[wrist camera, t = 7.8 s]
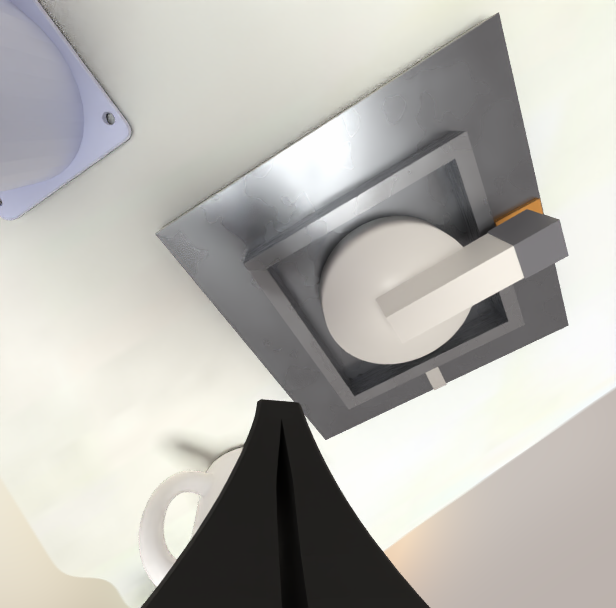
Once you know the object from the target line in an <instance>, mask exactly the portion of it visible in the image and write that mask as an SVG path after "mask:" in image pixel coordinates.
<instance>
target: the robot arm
mask: <svg viewBox="0 0 616 608" xmlns="http://www.w3.org/2000/svg"><path fill="white" fill-rule="evenodd" d="M109 112H110V113H111V114H113V116H114V118H115V122H114V124H113V125H111V124H109V123H108V122H107V119H106V115H107V113H109ZM131 133H132V132H131V127H130V125H129V123H128V122H127V121H126V119H125V118H124V117H123V115H122V114H121V113H120V111H119V110H118V109H117V107H116V106H115V104H114V103H113V102H112V100H111V99H110V98H109V96H108V95H107V94H106V92H105V91H104V90H103V88H102V87H101V86H100V84H99V83H98V82H97V80H96V79H95V77H94V76H93V75H92V73H91V72H90V71H89V69H88V68H87V67H86V65H85V64H84V63H83V61H82V60H81V59H80V57H79V56H78V55H77V53H76V52H75V50H74V49H73V48H72V46H71V45H70V44H69V42H68V41H67V40H66V38H65V37H64V36H63V34H62V33H61V32H60V30H59V29H58V28H57V26H56V25H55V23H54V22H53V21H52V19H51V18H50V17H49V15H48V14H47V13H46V11H45V10H44V9H43V7H42V6H41V5H40V3H39V2H38V1H37V0H0V199H1V200H2V205H1V204H0V217H1V218H3V219H6V220H14V219H16V218H19V217H20V216H22V215H23V214H25V213H26V212H27V211H29V210H30V209H32V208H33V207H34V206H36V205H37V204H39V203H40V202H41V201H43V200H44V199H46V198H47V197H48V196H50V195H51V194H53V193H54V192H55V191H57V190H58V189H60V188H61V187H62V186H64V185H65V184H67V183H68V182H69V181H71V180H72V179H74V178H75V177H76V176H78V175H79V174H81V173H82V172H83V171H85V170H86V169H88V168H89V167H90V166H92V165H93V164H95V163H96V162H97V161H99V160H100V159H102V158H103V157H104V156H106V155H107V154H109V153H110V152H111V151H113V150H114V149H116V148H117V147H118V146H120V145H121V144H123V143H124V142H125V141H127V140H128V139H129V138H130V137H131ZM141 608H430V607H429V606H428V605H427V604H426V603H425V602H424V600H423V599H422V598H421V597H420V596H419V595H418V594H417V593H416V591H415V590H414V589H413V588H412V587H411V586H410V585H409V583H408V582H407V581H406V580H405V579H404V577H403V576H402V575H401V574H400V573H399V571H398V570H397V569H396V568H395V566H394V565H393V564H392V563H391V561H390V560H389V559H388V557H387V556H386V555H385V554H384V552H383V551H382V550H381V548H380V547H379V546H378V545H377V543H376V542H375V541H374V539H373V538H372V537H371V535H370V534H369V533H368V531H367V530H366V528H365V527H364V525H363V524H362V523H361V521H360V520H359V518H358V517H357V515H356V514H355V512H354V511H353V509H352V508H351V506H350V505H349V503H348V501H347V500H346V498H345V497H344V495H343V493H342V492H341V490H340V488H339V486H338V485H337V483H336V481H335V479H334V478H333V476H332V474H331V472H330V470H329V468H328V467H327V465H326V463H325V461H324V459H323V457H322V455H321V453H320V451H319V448H318V446H317V444H316V442H315V440H314V438H313V435H312V433H311V431H310V428H309V426H308V423H307V421H306V418H305V416H304V413H303V410H302V407H301V405H300V404H299V402H287V401H275V400H263V399H261V400H259V401H258V402H257V407H256V413H255V417H254V421H253V424H252V427H251V429H250V432H249V435H248V437H247V440H246V442H245V444H244V447H243V449H242V452H241V454H240V456H239V458H238V460H237V462H236V464H235V466H234V468H233V470H232V472H231V474H230V476H229V478H228V480H227V482H226V483H225V485H224V487H223V489H222V491H221V492H220V494H219V496H218V498H217V499H216V501H215V503H214V504H213V506H212V508H211V509H210V511H209V513H208V514H207V516H206V517H205V519H204V521H203V522H202V524H201V525H200V527H199V528H198V530H197V531H196V533H195V535H194V536H193V537H192V539H191V540H190V542H189V543H188V545H187V546H186V548H185V549H184V551H183V552H182V553H181V555H180V556H179V558H178V559H177V560H176V562H175V563H174V564H173V566H172V567H171V569H170V570H169V571H168V573H167V574H166V575H165V577H164V578H163V580H162V581H161V582H160V584H159V585H158V586H157V588H156V589H155V590H154V592H153V593H152V594H151V595H150V597H149V598H148V599H147V600H146V602H145V603H144V604H143V605H142V607H141Z"/></svg>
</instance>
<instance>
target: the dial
mask: <svg viewBox="0 0 616 608" xmlns="http://www.w3.org/2000/svg"><path fill="white" fill-rule="evenodd" d="M567 256H568V252H567V248H566V244H565V240H564V236H563V232H562V228H561V224H560V220H559V219H556V218H553V217H550V216H547V215H544V214H540V213H537V212H534V211H531V210H528V209H526V210H524V211H522V212H521V213H519V214H517V215H515V216H514V217H512V218H510V219H509V220H507V221H505V222H503V223H502V224H500V225H498V226H496V227H495V228H493V229H491V230H490V231H488V232H487V234H485V235H484V236H482V237H480V238H479V239H477V240H475V241H473V242H472V243H470V244H468V245H466V246H465V247H463V246H462V245H461V244H460V243H459V242H457V241H456V240H455V239H454V238H452V237H451V236H449V235H448V234H446V233H445V232H443V231H442V230H440V229H438V228H437V227H435V226H434V225H432V224H430V223H428V222H426V221H424V220H421V219H418V218H415V217H409V216H389V217H383V218H379V219H375V220H372V221H370V222H367V223H365V224H363V225H361V226H359V227H357V228H356V229H354V230H353V231H352V232H350V233H349V234H347V235H346V236H345V237H344V238H343V239H342V240H341V241H340V242H339V243H338V244H337V245H336V247H335V248H334V249H333V250H332V252H331V253H330V255H329V257H328V258H327V261H326V263H325V265H324V267H323V270H322V273H321V278H320V285H319V294H320V301H321V305H322V309H323V313H324V317H325V321H326V324H327V327H328V329H329V332H330V334H331V335H332V337H333V339H334V340H335V341H336V342H337V344H338V345H339V346H340V347H341V348H342V349H344V350H345V351H346V352H348V353H349V354H351V355H352V356H354V357H356V358H358V359H361V360H364V361H367V362H371V363H376V364H397V363H404V362H408V361H412V360H415V359H418V358H420V357H423V356H425V355H427V354H429V353H431V352H432V351H434V350H436V349H437V348H439V347H440V346H442V345H443V344H444V343H446V342H447V341H448V340H449V339H450V338H451V337H452V336H453V335H454V334H455V333H456V332H457V331H458V329H459V328H460V327H461V325H462V324H463V323H464V321H465V319H466V317H467V316H468V314H469V312H470V309H471V307H472V306H473V305H475V304H477V303H479V302H480V301H482V300H484V299H486V298H488V297H490V296H491V295H493V294H495V293H497V292H499V291H501V290H503V289H504V288H506V287H508V286H510V285H512V284H514V283H515V282H517V281H519V280H521V279H523V278H524V279H526V278H528V277H530V276H532V275H534V274H535V273H537V272H539V271H541V270H543V269H545V268H547V267H548V266H550V265H552V264H554V263H556V262H558V261H559V260H561V259H563V258H565V257H567Z"/></svg>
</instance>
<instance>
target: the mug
mask: <svg viewBox="0 0 616 608" xmlns="http://www.w3.org/2000/svg"><path fill="white" fill-rule="evenodd" d="M242 449H243V447H242V448H238V449H235V450H232V451H230V452H228V453H226V454H224V455H222V456H221V457H219V458H218V459H217V460H216V461H214V462H213V464H212V465H211V466H210V467H209V469H208V470H207V472H206V473H205V472H201V471H191V470H189V471H182V472H179V473H176V474H174V475H172V476H170V477H168V478H167V479H165V480H164V481H163V482H162V483H161V484H160V485H159V486H158V487H157V488H156V489H155V490H154V492H153V493H152V495H151V497H150V498H149V500H148V502H147V504H146V507H145V509H144V511H143V515H142V518H141V522H140V528H139V550H140V557H141V560H142V563H143V566H144V569H145V571H146V573H147V575H148V576H149V578H150V579H151V581H152V582H153V583H154V585H155V586H156V587H157V586H158V585H159V584H160V582H161V581H162V580H163V578H164V577H165V575H166V574H167V573H168V571H169V570H170V569H171V567H172V566H173V564H174V563H175V562H176V560H177V559H175V558H174V557H173V555H172V554H171V553H170V551H169V550H168V548H167V545H166V543H165V539H164V519H165V514H166V511H167V508H168V506H169V504H170V503H171V501H172V500H173V499H174V498H175V497H176V496H177V495H178V494H180V493H183V492H192V493H196V494H198V495H200V497H199V501H198V507H197V512H196V517H195V522H194V526H193V531H192V536H191V539H192V537H193V536H194V535H195V533H196V531H197V530H198V528H199V527H200V525H201V524H202V522H203V521H204V519H205V517H206V516H207V514H208V513H209V511H210V509H211V508H212V506H213V504H214V503H215V501H216V499H217V498H218V496H219V494H220V492H221V491H222V489H223V487H224V485H225V483H226V482H227V480H228V478H229V476H230V474H231V472H232V470H233V468H234V466H235V464H236V462H237V460H238V458H239V456H240V454H241V452H242Z"/></svg>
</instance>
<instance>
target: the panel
mask: <svg viewBox="0 0 616 608" xmlns="http://www.w3.org/2000/svg"><path fill="white" fill-rule="evenodd" d="M526 209H528V210H531V211H534V212H537V213H540V214H544V213H543V208H542V204H541V200H540V195H539V191H538V186H537V182H536V177H535V173H534V168H533V164H532V159H531V155H530V150H529V146H528V141H527V137H526V132H525V128H524V123H523V119H522V114H521V110H520V105H519V101H518V96H517V92H516V87H515V83H514V78H513V74H512V69H511V65H510V60H509V56H508V51H507V47H506V42H505V38H504V33H503V29H502V24H501V20H500V15H499V13H497V14H495V15H493V16H491V17H489V18H487V19H485V20H483V21H481V22H480V23H478V24H477V25H475V26H474V27H472V28H471V29H469V30H467V31H466V32H464V33H463V34H461V35H460V36H458V37H457V38H455V39H453V40H452V41H450V42H449V43H447V44H446V45H444V46H443V47H441V48H440V49H438V50H436V51H435V52H433V53H432V54H430V55H429V56H427V57H426V58H424V59H423V60H421V61H419V62H418V63H416V64H415V65H413V66H412V67H410V68H409V69H407V70H405V71H404V72H402V73H401V74H399V75H398V76H396V77H395V78H393V79H392V80H390V81H388V82H387V83H385V84H384V85H382V86H381V87H379V88H378V89H376V90H375V91H373V92H371V93H370V94H368V95H367V96H365V97H364V98H362V99H361V100H359V101H358V102H356V103H354V104H353V105H351V106H350V107H348V108H347V109H345V110H344V111H342V112H340V113H339V114H337V115H336V116H334V117H333V118H331V119H330V120H328V121H327V122H325V123H323V124H322V125H320V126H319V127H317V128H316V129H314V130H313V131H311V132H310V133H308V134H306V135H305V136H303V137H302V138H300V139H299V140H297V141H296V142H294V143H292V144H291V145H289V146H288V147H286V148H285V149H283V150H282V151H280V152H279V153H277V154H275V155H274V156H272V157H271V158H269V159H268V160H266V161H265V162H263V163H262V164H260V165H258V166H257V167H255V168H254V169H252V170H251V171H249V172H248V173H246V174H245V175H243V176H241V177H240V178H238V179H237V180H235V181H234V182H232V183H231V184H229V185H227V186H226V187H224V188H223V189H221V190H220V191H218V192H217V193H215V194H214V195H212V196H210V197H209V198H207V199H206V200H204V201H203V202H201V203H200V204H198V205H197V206H195V207H193V208H192V209H190V210H189V211H187V212H186V213H184V214H183V215H181V216H179V217H178V218H176V219H175V220H173V221H172V222H170V223H169V224H167V225H166V226H164V227H162V228H161V229H160V230H159V231H158V232H157V233H156V235H157V236H158V237H159V239H160V240H161V241H162V242H163V243H164V245H165V246H166V247H167V248H168V249H169V251H170V252H171V253H172V254H173V256H174V257H175V258H176V259H177V260H178V262H179V263H180V264H181V265H182V266H183V268H184V269H185V270H186V271H187V273H188V274H189V275H190V276H191V277H192V279H193V280H194V281H195V282H196V283H197V285H198V286H199V287H200V288H201V289H202V291H203V292H204V293H205V294H206V296H207V297H208V298H209V299H210V300H211V302H212V303H213V304H214V305H215V306H216V308H217V309H218V310H219V311H220V313H221V314H222V315H223V316H224V317H225V319H226V320H227V321H228V322H229V323H230V325H231V326H232V327H233V328H234V329H235V331H236V332H237V333H238V334H239V336H240V337H241V338H242V339H243V340H244V342H245V343H246V344H247V345H248V346H249V348H250V349H251V350H252V351H253V353H254V354H255V355H256V356H257V357H258V359H259V360H260V361H261V362H262V363H263V365H264V366H265V367H266V368H267V369H268V371H269V372H270V373H271V374H272V376H273V377H274V378H275V379H276V380H277V382H278V383H279V384H280V385H281V386H282V388H283V389H284V390H285V391H286V393H287V394H288V395H289V396H290V397H291V399H292V400H293V401H294V402H299V404H300V405H301V407H302V410H303V413H304V414H305V416H306V417H307V418H308V419H309V420H310V422H311V423H312V424H313V425H314V426H315V428H316V429H317V430H318V431H319V433H320V434H321V435H322V436H323V437H324V439H325V440H327V439H329V438H331V437H333V436H335V435H337V434H339V433H342V432H344V431H346V430H348V429H350V428H352V427H354V426H356V425H359V424H361V423H363V422H365V421H367V420H369V419H371V418H373V417H375V416H378V415H380V414H382V413H384V412H386V411H388V410H390V409H392V408H395V407H397V406H399V405H401V404H403V403H405V402H407V401H409V400H412V399H414V398H416V397H418V396H420V395H422V394H424V393H426V392H428V391H431V390H433V389H434V390H436V389H438V388H440V387H442V386H444V385H447V384H446V383H448V382H450V381H452V380H454V379H456V378H458V377H460V376H462V375H464V374H467V373H469V372H471V371H473V370H475V369H477V368H479V367H481V366H484V365H486V364H488V363H490V362H492V361H494V360H496V359H498V358H501V357H503V356H505V355H507V354H509V353H511V352H513V351H515V350H517V349H520V348H522V347H524V346H526V345H528V344H530V343H532V342H534V341H537V340H539V339H541V338H543V337H545V336H547V335H549V334H551V333H553V332H556V331H558V330H560V329H562V328H564V327H566V326H568V321H567V316H566V312H565V307H564V303H563V298H562V294H561V289H560V285H559V280H558V276H557V271H556V267H555V263H554V264H552V265H550V266H548V267H547V268H545V269H543V270H541V271H539V272H537V273H535V274H534V275H532V276H530V277H528V278H526V279H524V278H523V279H521V280H519V281H517V282H515V283H514V284H512V285H510V286H508V287H506V288H504V289H503V290H501V291H499V292H497V293H495V294H493V295H491V296H490V297H488V298H486V299H484V300H482V301H480V302H479V303H477V304H475V305H473V306H472V307H471V309H470V312H469V314H468V316H467V317H466V319H465V321H464V323H463V324H462V325H461V327H460V328H459V329H458V331H457V332H456V333H455V334H454V335H453V336H452V337H451V338H450V339H449V340H448V341H447V342H446V343H444V344H443V345H442V346H440V347H439V348H437V349H436V350H434V351H432V352H431V353H429V354H427V355H425V356H423V357H420V358H418V359H415V360H412V361H408V362H404V363H397V364H376V363H371V362H367V361H364V360H361V359H358V358H356V357H354V356H352V355H351V354H349V353H348V352H346V351H345V350H344V349H342V348H341V347H340V346H339V345H338V344H337V342H336V341H335V340H334V339H333V337H332V335H331V334H330V332H329V329H328V327H327V324H326V321H325V317H324V313H323V309H322V305H321V301H320V294H319V285H320V278H321V273H322V270H323V267H324V265H325V263H326V261H327V258H328V257H329V255H330V253H331V252H332V250H333V249H334V248H335V247H336V245H337V244H338V243H339V242H340V241H341V240H342V239H343V238H344V237H345V236H346V235H347V234H349V233H350V232H352V231H353V230H354V229H356V228H357V227H359V226H361V225H363V224H365V223H367V222H370V221H372V220H375V219H379V218H383V217H389V216H409V217H415V218H418V219H421V220H424V221H426V222H428V223H430V224H432V225H434V226H435V227H437V228H438V229H440V230H442V231H443V232H445V233H446V234H448V235H449V236H451V237H452V238H454V239H455V240H456V241H457V242H459V243H460V244H461V245H462V246H463V247H465V246H466V245H468V244H470V243H472V242H473V241H475V240H477V239H479V238H480V237H482V236H484V235H485V234H487V232H488V231H490V230H491V229H493V228H495V227H496V226H498V225H500V224H502V223H503V222H505V221H507V220H509V219H510V218H512V217H514V216H515V215H517V214H519V213H521V212H522V211H524V210H526Z"/></svg>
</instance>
